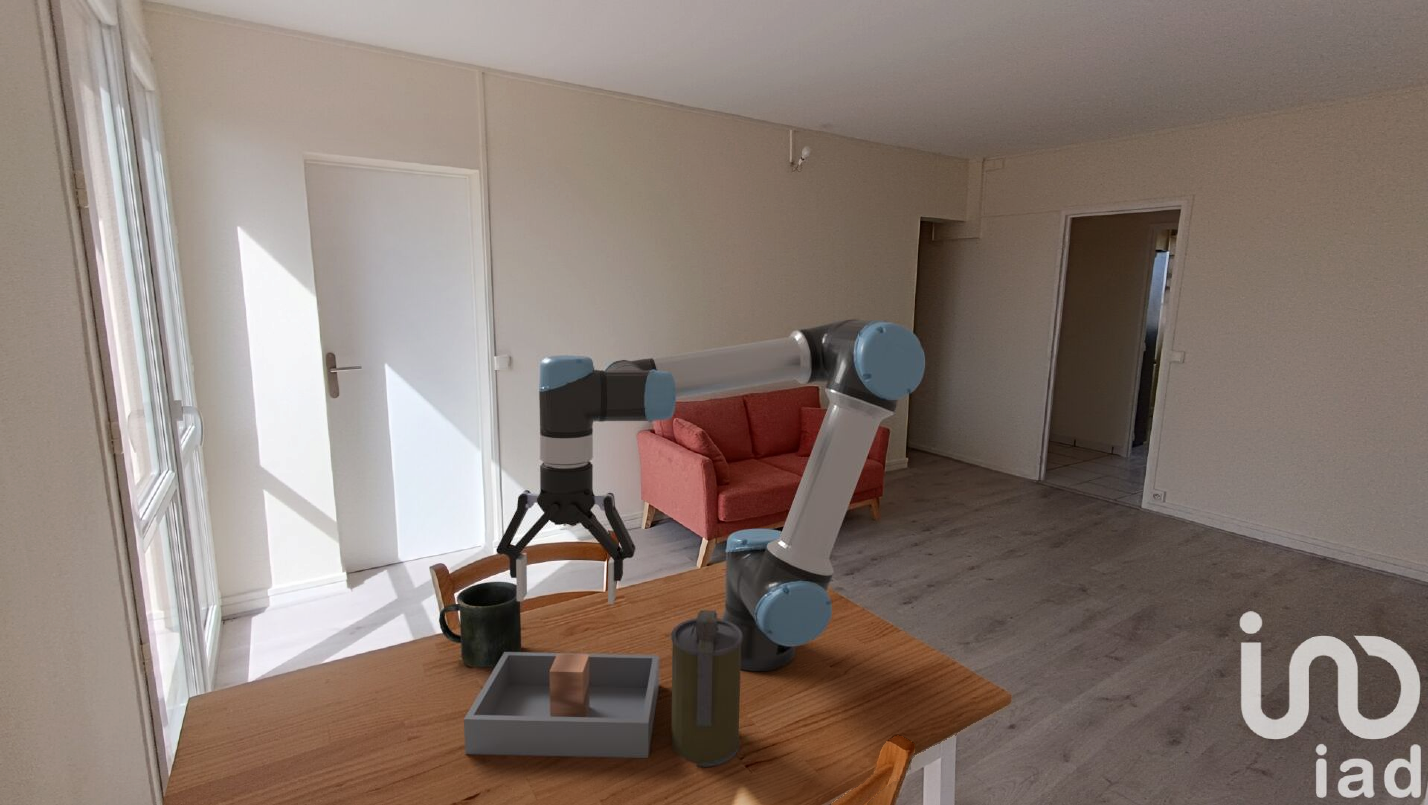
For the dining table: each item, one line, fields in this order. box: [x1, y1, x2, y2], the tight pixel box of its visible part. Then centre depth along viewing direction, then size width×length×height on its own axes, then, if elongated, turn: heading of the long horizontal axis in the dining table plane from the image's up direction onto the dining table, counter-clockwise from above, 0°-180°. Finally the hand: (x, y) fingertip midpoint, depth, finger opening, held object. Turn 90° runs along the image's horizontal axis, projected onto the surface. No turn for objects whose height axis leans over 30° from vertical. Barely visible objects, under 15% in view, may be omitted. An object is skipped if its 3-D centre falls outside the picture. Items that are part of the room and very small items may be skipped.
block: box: [549, 653, 590, 717], centre depth 102 cm, size 5×5×9 cm
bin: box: [463, 651, 660, 759], centre depth 102 cm, size 26×18×6 cm
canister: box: [670, 609, 743, 768], centre depth 96 cm, size 11×10×20 cm
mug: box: [438, 581, 522, 668], centre depth 120 cm, size 11×15×12 cm
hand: (566, 599), depth 100 cm, fingers open, 13 cm apart
